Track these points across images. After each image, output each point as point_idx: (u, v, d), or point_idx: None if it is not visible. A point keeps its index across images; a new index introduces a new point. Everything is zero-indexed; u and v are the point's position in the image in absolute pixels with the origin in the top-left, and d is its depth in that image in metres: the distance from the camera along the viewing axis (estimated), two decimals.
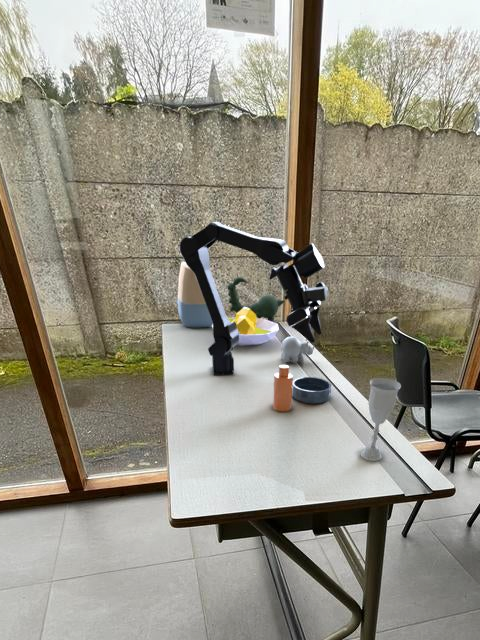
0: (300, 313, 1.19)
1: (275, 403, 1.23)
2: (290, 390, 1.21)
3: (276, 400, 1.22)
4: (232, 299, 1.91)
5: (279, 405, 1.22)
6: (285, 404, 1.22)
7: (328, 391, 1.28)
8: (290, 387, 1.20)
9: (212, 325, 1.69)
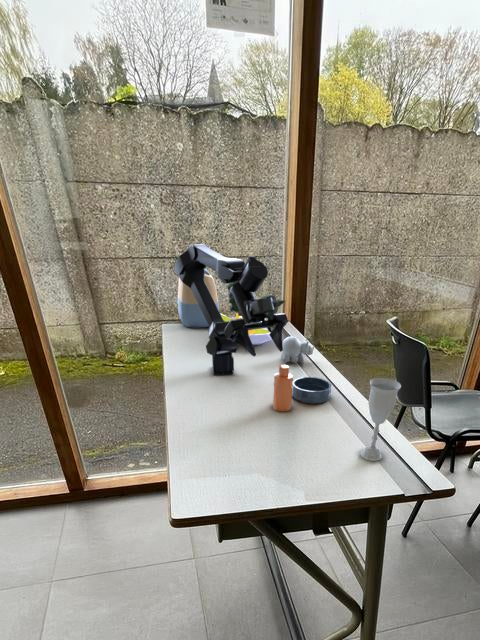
0: (230, 324, 1.16)
1: (275, 403, 1.23)
2: (290, 390, 1.21)
3: (276, 400, 1.22)
4: (232, 299, 1.91)
5: (279, 405, 1.22)
6: (285, 404, 1.22)
7: (328, 391, 1.28)
8: (290, 387, 1.20)
9: None
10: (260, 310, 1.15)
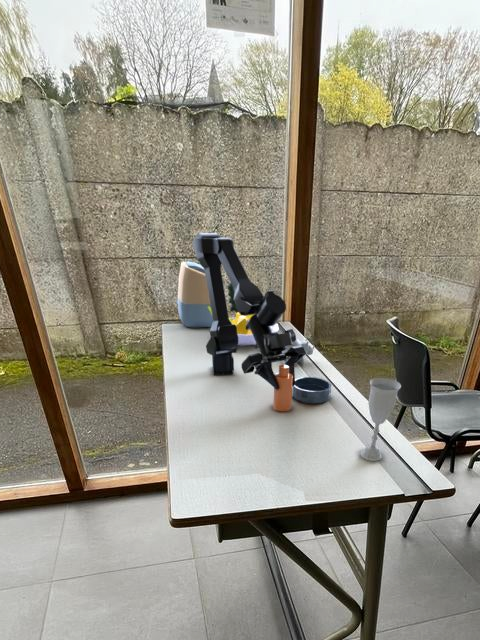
0: (247, 359, 1.14)
1: (275, 403, 1.23)
2: (290, 390, 1.21)
3: (276, 400, 1.22)
4: (232, 299, 1.91)
5: (279, 405, 1.22)
6: (285, 404, 1.22)
7: (328, 391, 1.28)
8: (290, 387, 1.20)
9: None
10: (279, 345, 1.13)
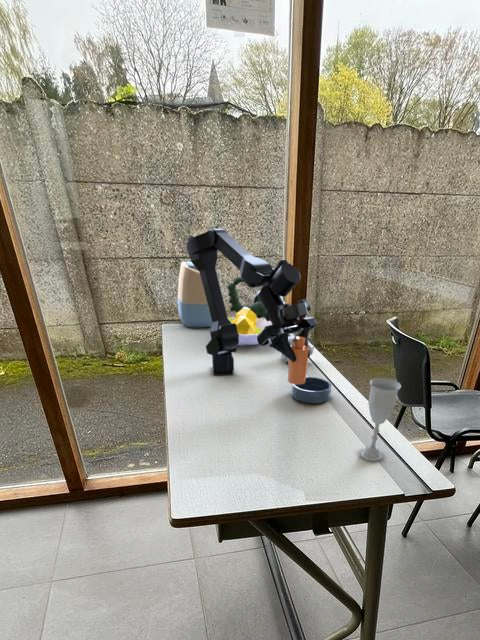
0: (265, 331, 1.12)
1: (291, 376, 1.21)
2: (306, 362, 1.19)
3: (292, 373, 1.20)
4: (232, 299, 1.91)
5: (295, 378, 1.21)
6: (301, 376, 1.21)
7: (328, 391, 1.28)
8: (306, 359, 1.19)
9: None
10: (296, 315, 1.12)
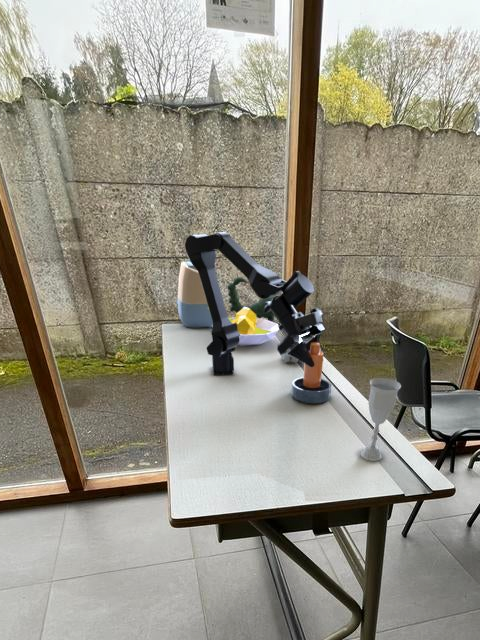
0: (287, 340, 1.17)
1: (309, 381, 1.27)
2: None
3: (310, 377, 1.27)
4: (232, 299, 1.91)
5: (312, 382, 1.28)
6: (318, 380, 1.28)
7: (328, 391, 1.28)
8: (322, 363, 1.26)
9: (212, 325, 1.69)
10: (314, 323, 1.18)
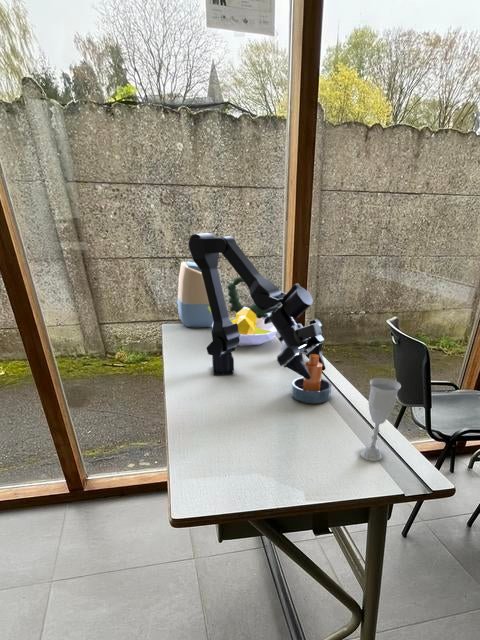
0: (287, 352, 1.19)
1: None
2: None
3: (309, 388, 1.29)
4: (232, 299, 1.91)
5: None
6: None
7: (328, 391, 1.28)
8: (321, 374, 1.28)
9: (212, 325, 1.69)
10: (313, 335, 1.20)
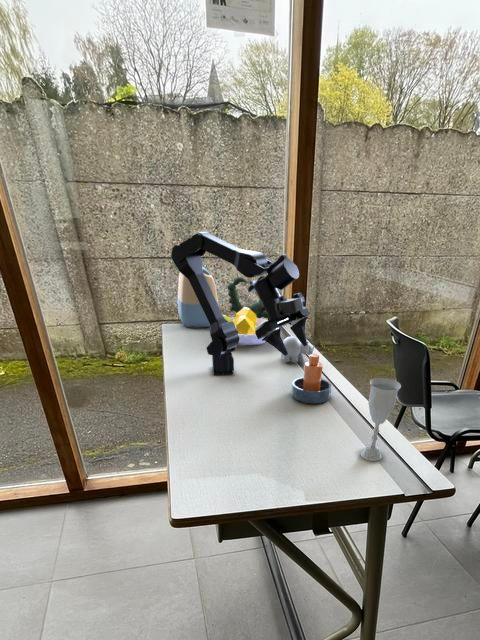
0: (264, 327, 1.18)
1: None
2: None
3: (309, 388, 1.29)
4: (232, 299, 1.91)
5: None
6: None
7: (328, 391, 1.28)
8: (321, 374, 1.28)
9: None
10: (293, 311, 1.18)
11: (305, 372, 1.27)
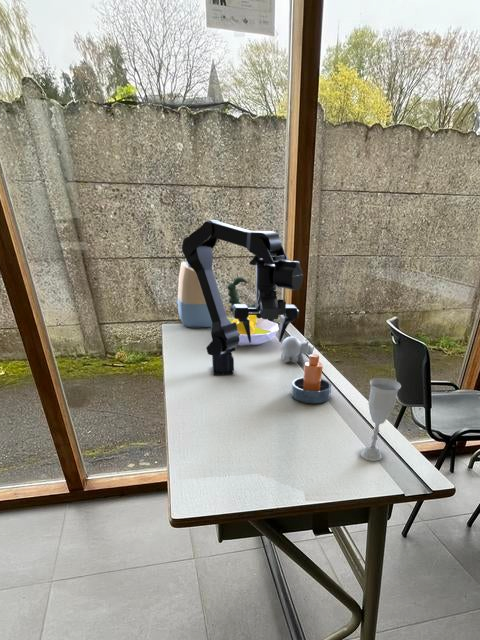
0: (234, 311, 1.22)
1: None
2: None
3: (309, 388, 1.29)
4: (232, 299, 1.91)
5: None
6: None
7: (328, 391, 1.28)
8: (321, 374, 1.28)
9: None
10: (262, 317, 1.20)
11: (305, 372, 1.27)
